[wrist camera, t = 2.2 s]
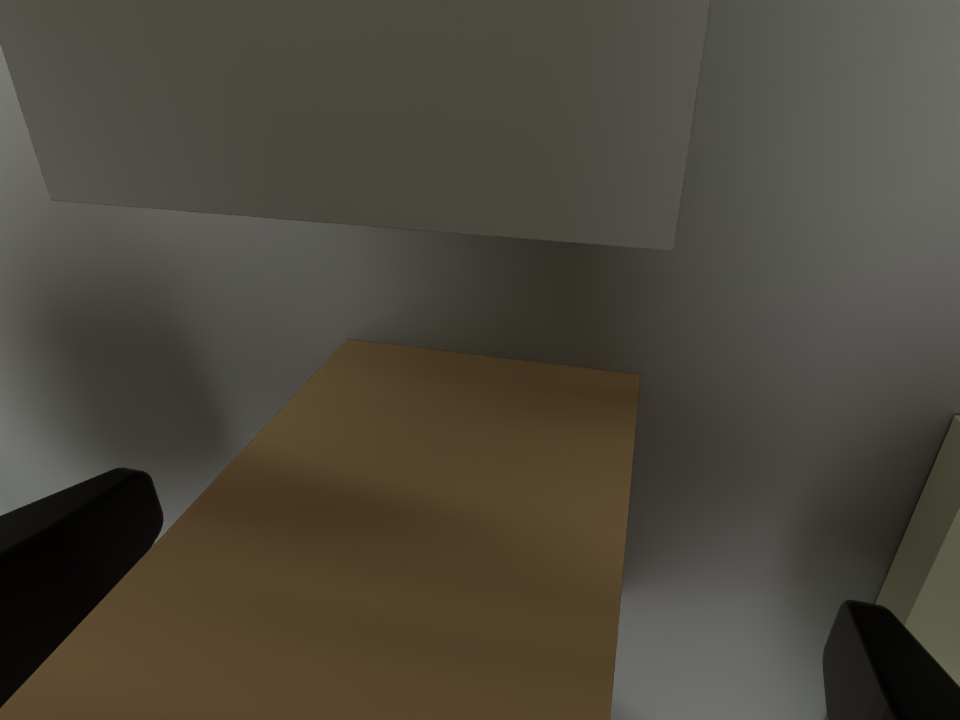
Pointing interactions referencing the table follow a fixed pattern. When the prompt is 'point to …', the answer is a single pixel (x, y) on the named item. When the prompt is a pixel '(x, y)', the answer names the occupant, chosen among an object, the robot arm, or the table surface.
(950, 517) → the sage board
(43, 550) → the robot arm
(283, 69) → the grey cube
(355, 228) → the table surface
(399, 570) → the oak block
